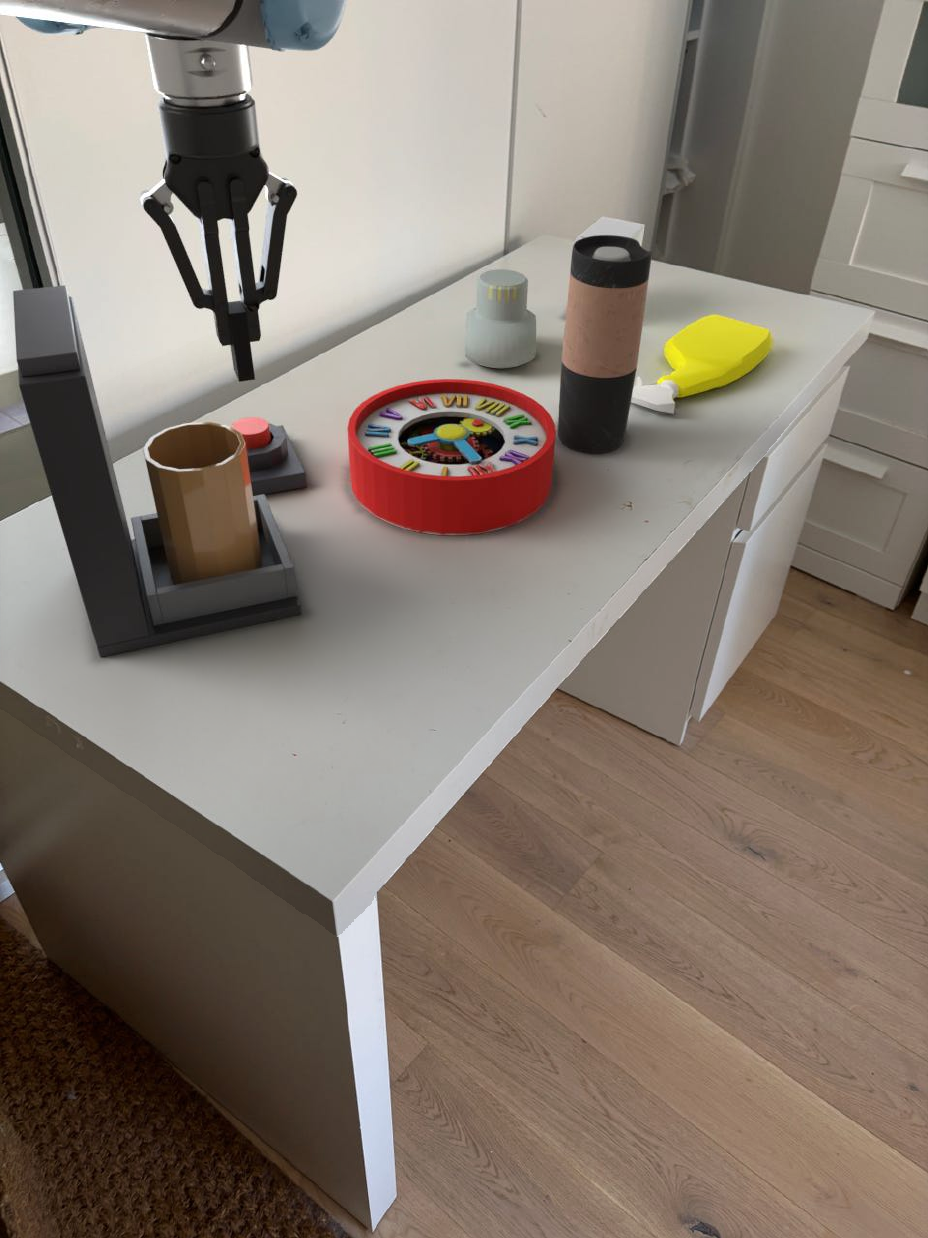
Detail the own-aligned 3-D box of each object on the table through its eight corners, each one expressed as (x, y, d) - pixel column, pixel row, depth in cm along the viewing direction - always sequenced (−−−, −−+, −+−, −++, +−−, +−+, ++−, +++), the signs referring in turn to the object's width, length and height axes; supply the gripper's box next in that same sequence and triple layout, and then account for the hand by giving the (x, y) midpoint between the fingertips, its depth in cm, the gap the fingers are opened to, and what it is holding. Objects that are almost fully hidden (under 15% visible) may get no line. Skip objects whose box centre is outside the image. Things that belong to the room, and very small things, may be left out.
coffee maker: (301, 614, 80) (269, 333, 64) (99, 657, 75) (13, 366, 60) (266, 523, 90) (231, 262, 74) (86, 557, 85) (9, 285, 70)
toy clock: (497, 365, 103) (595, 453, 89) (495, 415, 107) (588, 506, 93) (318, 399, 96) (394, 500, 82) (323, 451, 100) (396, 555, 86)
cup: (177, 605, 79) (149, 479, 71) (165, 552, 84) (138, 429, 77) (270, 587, 81) (253, 462, 73) (252, 536, 86) (234, 415, 79)
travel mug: (545, 446, 102) (561, 254, 89) (567, 414, 107) (585, 229, 94) (615, 461, 100) (642, 267, 87) (634, 428, 105) (661, 241, 92)
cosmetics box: (611, 328, 126) (621, 246, 119) (565, 318, 128) (572, 237, 121) (635, 300, 133) (646, 222, 126) (591, 292, 135) (599, 214, 128)
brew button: (274, 447, 94) (272, 431, 93) (237, 453, 93) (235, 437, 92) (266, 430, 97) (264, 414, 96) (230, 435, 96) (228, 419, 95)
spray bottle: (778, 354, 120) (683, 430, 106) (699, 330, 125) (598, 400, 111) (783, 331, 118) (687, 406, 104) (703, 308, 124) (601, 376, 109)
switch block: (306, 487, 95) (303, 455, 92) (224, 501, 92) (219, 469, 90) (284, 439, 102) (281, 409, 100) (207, 451, 100) (202, 420, 97)
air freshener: (534, 379, 114) (540, 296, 107) (464, 377, 114) (466, 294, 107) (531, 341, 122) (536, 261, 116) (466, 339, 122) (468, 259, 116)
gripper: (124, 111, 71) (179, 402, 86) (298, 100, 75) (322, 381, 90) (114, 89, 76) (168, 367, 92) (277, 79, 80) (303, 348, 95)
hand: (244, 374), depth 91 cm, fingers closed
